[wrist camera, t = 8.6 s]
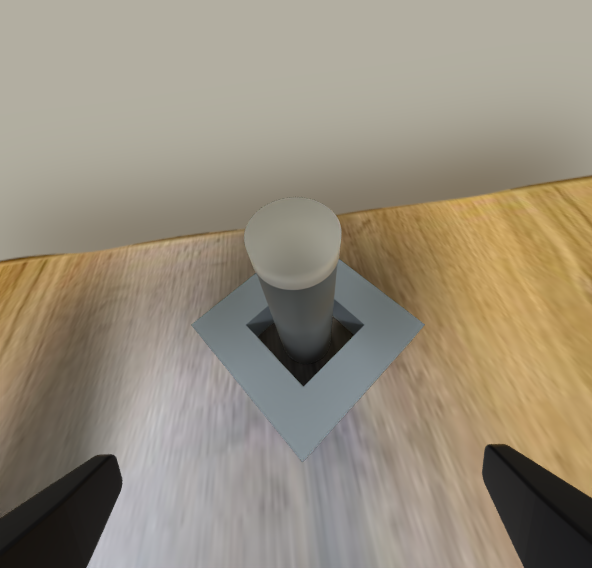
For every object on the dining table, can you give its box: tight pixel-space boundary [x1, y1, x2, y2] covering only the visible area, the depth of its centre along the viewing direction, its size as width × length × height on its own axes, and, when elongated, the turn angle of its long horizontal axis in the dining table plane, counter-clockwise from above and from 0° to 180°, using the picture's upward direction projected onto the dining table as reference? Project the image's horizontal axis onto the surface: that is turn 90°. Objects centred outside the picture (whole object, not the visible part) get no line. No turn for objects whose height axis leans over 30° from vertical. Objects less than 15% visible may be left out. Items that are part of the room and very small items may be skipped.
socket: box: [192, 259, 425, 462], centre depth 20 cm, size 11×11×3 cm
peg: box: [244, 197, 341, 364], centre depth 16 cm, size 4×4×12 cm
